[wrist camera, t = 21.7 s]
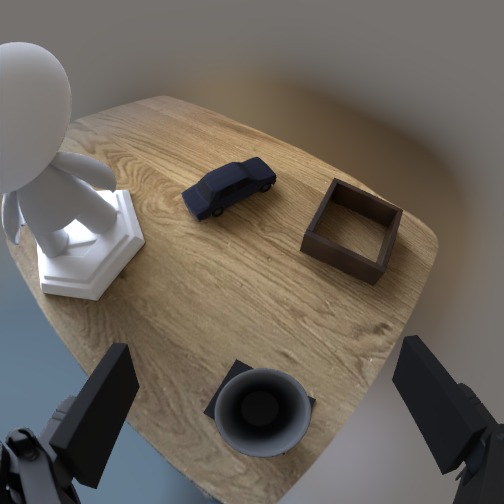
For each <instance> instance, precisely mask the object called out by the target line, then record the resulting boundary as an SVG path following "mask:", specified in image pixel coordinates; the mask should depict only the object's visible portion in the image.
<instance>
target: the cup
mask: <svg viewBox="0 0 504 504" xmlns="http://www.w3.org/2000/svg"><path fill="white" fill-rule="evenodd" d="M310 419H311V405H310V401H309V398H308V396H307V394H306V392H305V390H304V389H303V387H302V386H301V385H300V383H299V382H297V381H296V380H295V379H294V378H293V377H291V376H289V375H288V374H286V373H284V372H281V371H278V370H274V369H268V368H258V369H253V370H248V371H246V372H243V373H241V374H239V375H237V376H236V377H234V378H233V379H231V380H230V381H229V382H228V383H227V384H226V385H225V386H224V388H223V389H222V391H221V392H220V394H219V396H218V399H217V401H216V406H215V421H216V426H217V428H218V431H219V433H220V435H221V436H222V438H223V439H224V440H225V442H226V443H227V444H229V445H230V446H231V447H232V448H233V449H235V450H237V451H238V452H240V453H242V454H245V455H248V456H252V457H258V458H265V457H273V456H277V455H280V454H282V453H285V452H287V451H289V450H290V449H292V448H293V447H295V446H296V445H297V444H298V443H299V442H300V441H301V439H302V438H303V436H304V435H305V433H306V432H307V429H308V427H309V424H310Z"/></svg>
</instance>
